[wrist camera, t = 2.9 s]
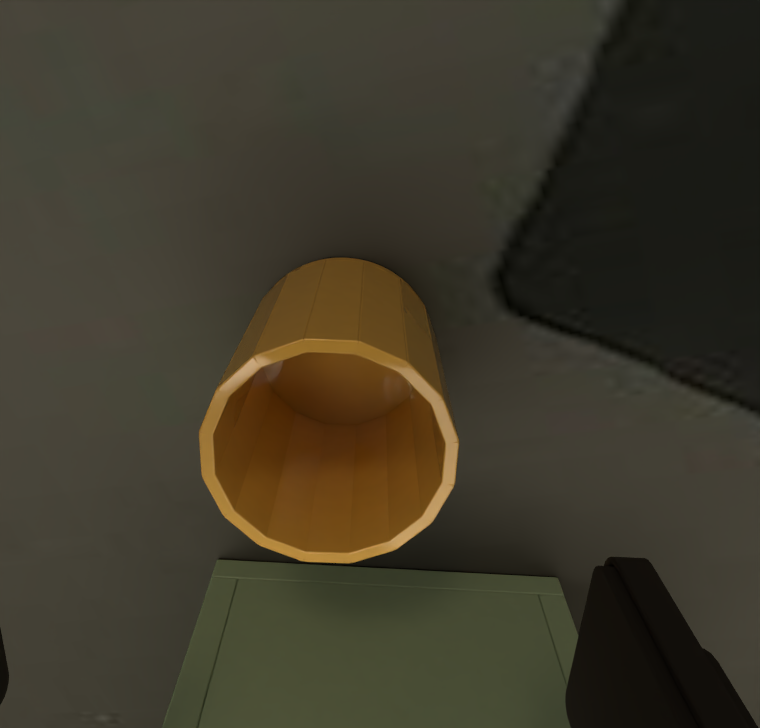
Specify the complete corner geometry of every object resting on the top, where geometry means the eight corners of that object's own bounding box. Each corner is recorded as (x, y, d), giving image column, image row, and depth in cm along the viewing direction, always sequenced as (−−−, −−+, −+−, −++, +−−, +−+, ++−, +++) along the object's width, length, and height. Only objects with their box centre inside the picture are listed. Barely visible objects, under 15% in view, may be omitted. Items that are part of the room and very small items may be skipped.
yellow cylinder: (221, 293, 20) (153, 390, 14) (398, 230, 19) (408, 301, 13) (294, 447, 22) (262, 590, 16) (456, 394, 21) (489, 523, 15)
